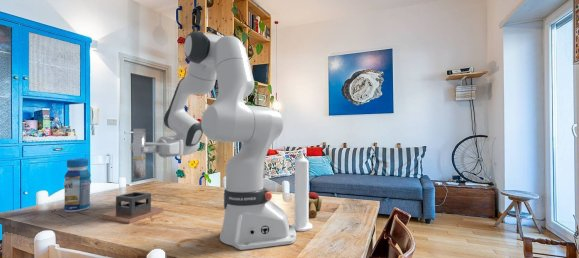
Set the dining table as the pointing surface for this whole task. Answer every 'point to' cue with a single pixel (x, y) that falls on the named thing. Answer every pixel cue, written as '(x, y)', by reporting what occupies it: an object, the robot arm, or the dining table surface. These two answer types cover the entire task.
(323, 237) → the dining table surface
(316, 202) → the kendama
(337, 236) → the dining table surface
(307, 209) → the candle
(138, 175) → the steel tube
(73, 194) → the blue pill bottle
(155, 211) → the collar stand
